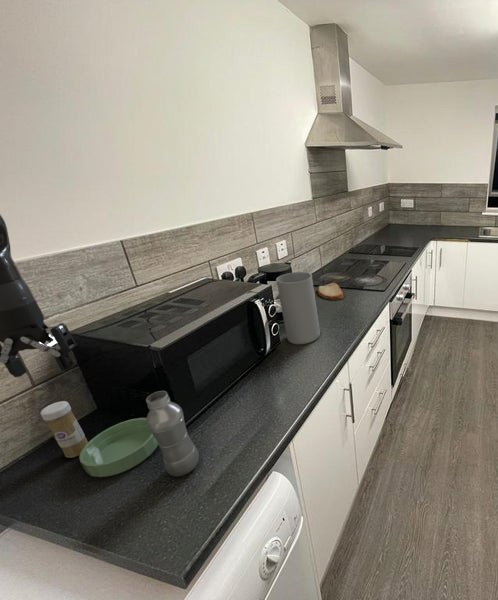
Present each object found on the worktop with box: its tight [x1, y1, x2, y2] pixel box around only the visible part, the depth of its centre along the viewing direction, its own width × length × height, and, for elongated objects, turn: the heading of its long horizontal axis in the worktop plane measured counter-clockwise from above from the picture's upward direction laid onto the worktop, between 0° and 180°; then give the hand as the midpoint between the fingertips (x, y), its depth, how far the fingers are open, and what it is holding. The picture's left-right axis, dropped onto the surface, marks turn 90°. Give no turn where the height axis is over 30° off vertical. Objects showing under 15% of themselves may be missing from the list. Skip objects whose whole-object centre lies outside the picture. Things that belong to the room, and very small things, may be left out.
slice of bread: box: [317, 282, 345, 301], centre depth 170 cm, size 18×18×4 cm
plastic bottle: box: [145, 390, 200, 477], centre depth 69 cm, size 6×7×20 cm
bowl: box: [78, 417, 159, 478], centre depth 76 cm, size 14×14×4 cm
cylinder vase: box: [275, 271, 321, 345], centre depth 122 cm, size 12×12×25 cm
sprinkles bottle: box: [40, 400, 89, 459], centre depth 75 cm, size 5×5×14 cm
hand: (44, 371), depth 69 cm, fingers open, 8 cm apart
